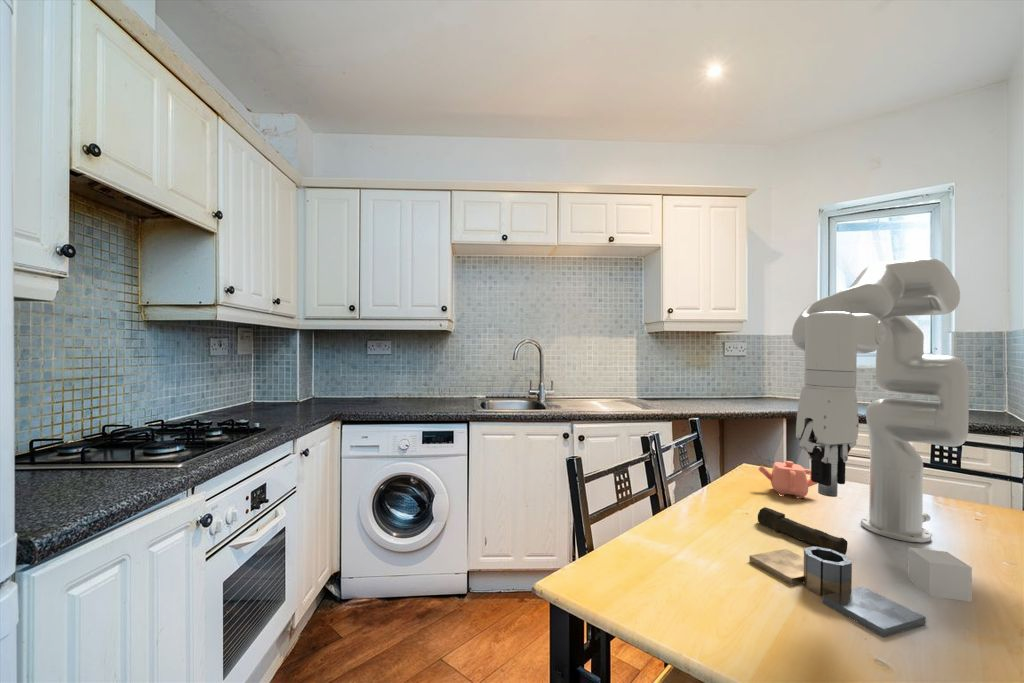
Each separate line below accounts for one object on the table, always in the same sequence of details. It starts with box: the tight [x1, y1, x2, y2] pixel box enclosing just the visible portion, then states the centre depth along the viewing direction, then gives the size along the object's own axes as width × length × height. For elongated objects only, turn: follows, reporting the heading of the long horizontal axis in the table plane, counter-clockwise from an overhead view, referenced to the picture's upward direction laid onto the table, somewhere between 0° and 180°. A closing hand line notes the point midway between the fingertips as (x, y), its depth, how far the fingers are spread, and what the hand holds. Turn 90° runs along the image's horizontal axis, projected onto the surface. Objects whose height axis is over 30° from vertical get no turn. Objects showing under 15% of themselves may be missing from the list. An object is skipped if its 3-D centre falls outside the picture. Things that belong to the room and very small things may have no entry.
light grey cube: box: [907, 546, 973, 603], centre depth 78 cm, size 6×6×6 cm
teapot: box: [757, 460, 818, 499], centre depth 129 cm, size 12×12×10 cm
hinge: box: [748, 545, 927, 638], centre depth 77 cm, size 10×24×6 cm, turn 19°
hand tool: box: [757, 506, 848, 555], centre depth 98 cm, size 19×4×5 cm, turn 22°
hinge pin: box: [817, 445, 839, 498], centre depth 77 cm, size 3×3×10 cm
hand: (827, 481), depth 77 cm, fingers closed on hinge pin, 2 cm apart
